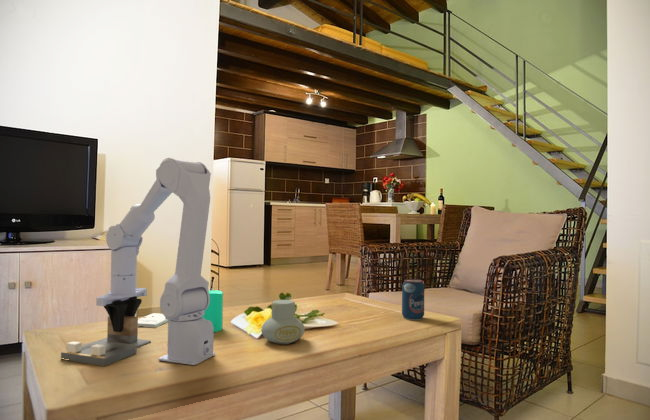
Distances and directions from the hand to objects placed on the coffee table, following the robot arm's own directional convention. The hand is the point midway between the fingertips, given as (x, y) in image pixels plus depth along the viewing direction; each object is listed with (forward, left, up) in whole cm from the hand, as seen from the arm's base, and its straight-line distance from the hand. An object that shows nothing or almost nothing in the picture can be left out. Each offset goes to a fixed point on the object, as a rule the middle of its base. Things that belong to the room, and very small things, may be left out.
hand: (122, 329), depth 108 cm
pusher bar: (0, 0, -3) cm, 3 cm away
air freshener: (-36, -16, -3) cm, 40 cm away
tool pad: (0, 0, -3) cm, 3 cm away
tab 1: (+1, +13, -2) cm, 13 cm away
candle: (-13, -19, -3) cm, 23 cm away
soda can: (-64, -54, -3) cm, 84 cm away
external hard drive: (+8, -20, -4) cm, 22 cm away
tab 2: (-6, +13, -2) cm, 14 cm away
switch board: (-3, +10, -3) cm, 11 cm away
